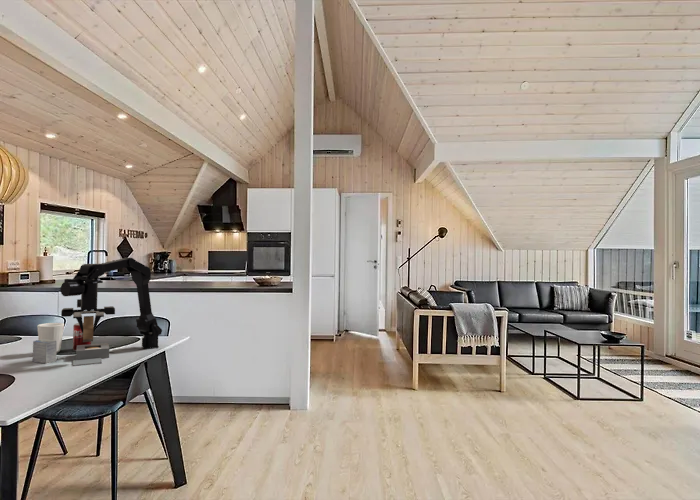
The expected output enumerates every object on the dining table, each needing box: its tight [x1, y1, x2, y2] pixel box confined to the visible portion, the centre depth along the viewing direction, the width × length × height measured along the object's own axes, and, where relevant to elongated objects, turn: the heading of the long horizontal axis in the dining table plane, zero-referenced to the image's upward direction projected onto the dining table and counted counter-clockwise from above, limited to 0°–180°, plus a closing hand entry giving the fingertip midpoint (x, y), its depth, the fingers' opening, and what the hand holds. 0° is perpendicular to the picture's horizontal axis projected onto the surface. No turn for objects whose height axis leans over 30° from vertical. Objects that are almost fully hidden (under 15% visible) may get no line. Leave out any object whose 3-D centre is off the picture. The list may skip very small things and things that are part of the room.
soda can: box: [72, 322, 92, 352], centre depth 198 cm, size 7×7×12 cm
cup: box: [36, 322, 65, 355], centre depth 190 cm, size 10×10×13 cm
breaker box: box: [75, 342, 110, 360], centre depth 186 cm, size 12×12×4 cm
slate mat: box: [72, 358, 103, 367], centre depth 176 cm, size 10×8×1 cm
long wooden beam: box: [83, 315, 95, 343], centre depth 176 cm, size 4×4×10 cm
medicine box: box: [32, 339, 57, 364], centre depth 176 cm, size 8×4×9 cm, turn 71°
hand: (88, 332), depth 176 cm, fingers closed on long wooden beam, 3 cm apart
